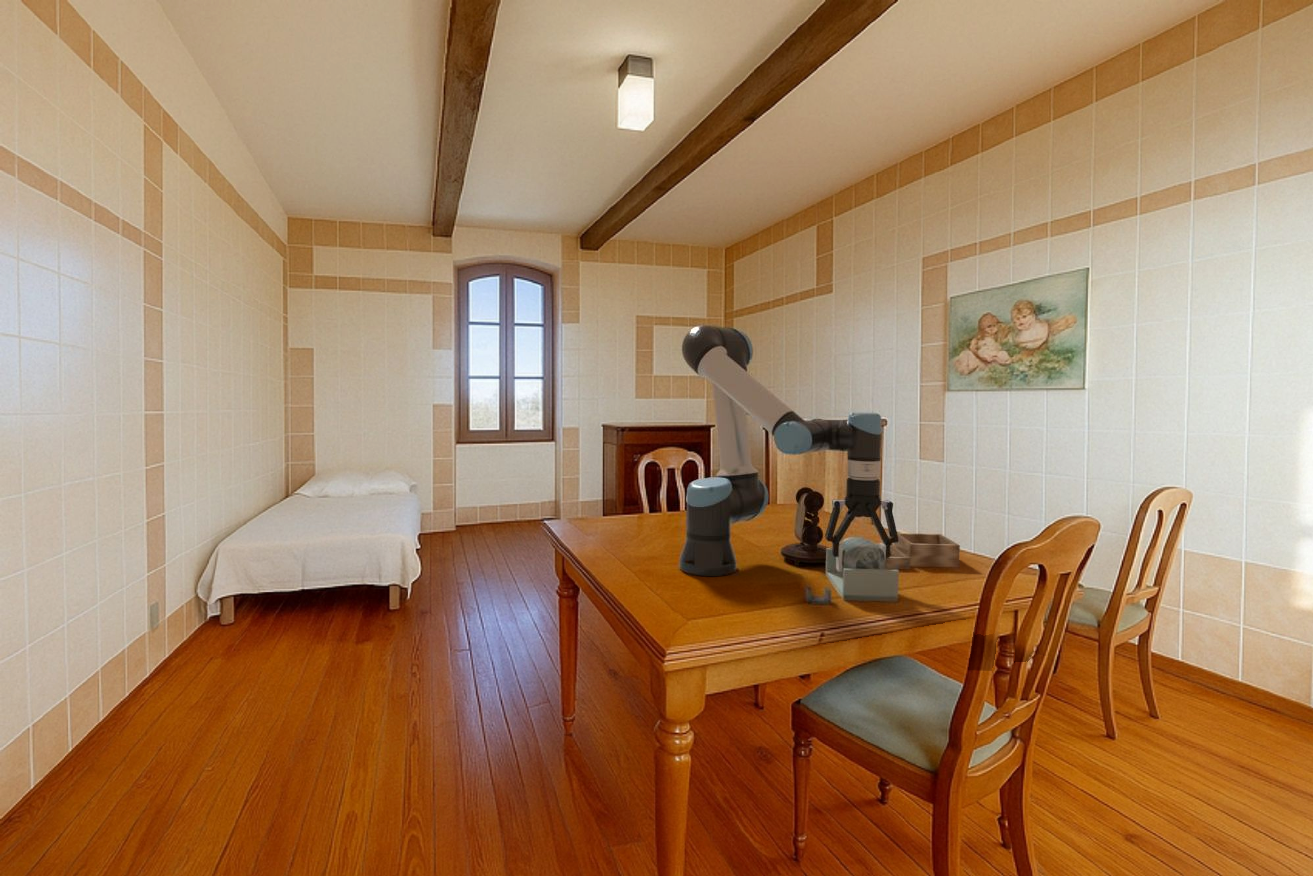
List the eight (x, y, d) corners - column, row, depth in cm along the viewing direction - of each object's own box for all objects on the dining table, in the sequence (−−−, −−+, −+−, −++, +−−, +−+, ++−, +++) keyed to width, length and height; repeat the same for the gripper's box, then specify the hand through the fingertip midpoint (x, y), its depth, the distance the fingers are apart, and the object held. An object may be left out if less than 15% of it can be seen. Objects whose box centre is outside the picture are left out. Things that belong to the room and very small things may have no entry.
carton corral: (909, 566, 170) (910, 544, 169) (893, 553, 183) (894, 533, 182) (958, 567, 169) (959, 545, 169) (939, 554, 182) (940, 534, 182)
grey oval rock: (901, 567, 144) (878, 528, 145) (866, 587, 143) (843, 548, 144) (877, 565, 157) (857, 529, 159) (845, 583, 156) (825, 547, 157)
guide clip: (808, 603, 140) (808, 590, 140) (805, 599, 143) (806, 586, 143) (830, 604, 140) (831, 591, 139) (827, 599, 142) (828, 586, 142)
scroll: (774, 553, 181) (775, 485, 180) (823, 552, 183) (825, 484, 181) (790, 568, 167) (792, 494, 165) (844, 567, 168) (846, 493, 167)
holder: (843, 600, 142) (844, 569, 142) (825, 575, 161) (826, 548, 161) (897, 601, 142) (898, 571, 141) (873, 576, 161) (874, 549, 160)
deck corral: (852, 567, 168) (852, 556, 168) (838, 553, 183) (839, 542, 182) (909, 569, 167) (910, 558, 167) (891, 554, 182) (891, 544, 182)
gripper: (819, 479, 146) (816, 574, 148) (916, 480, 145) (912, 576, 147) (813, 474, 154) (810, 565, 155) (905, 476, 152) (901, 566, 154)
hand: (860, 570), depth 151 cm, fingers closed on grey oval rock, 9 cm apart
